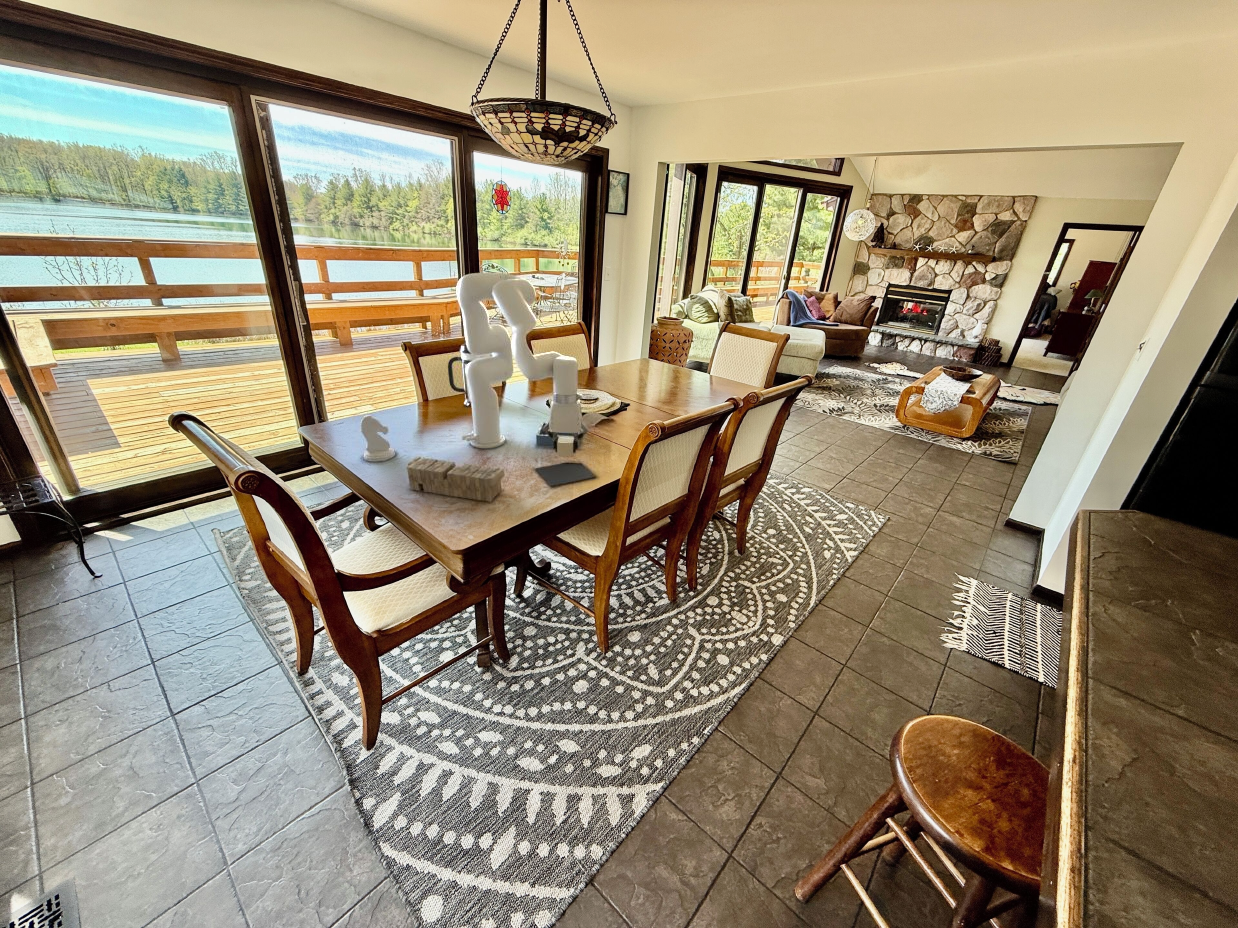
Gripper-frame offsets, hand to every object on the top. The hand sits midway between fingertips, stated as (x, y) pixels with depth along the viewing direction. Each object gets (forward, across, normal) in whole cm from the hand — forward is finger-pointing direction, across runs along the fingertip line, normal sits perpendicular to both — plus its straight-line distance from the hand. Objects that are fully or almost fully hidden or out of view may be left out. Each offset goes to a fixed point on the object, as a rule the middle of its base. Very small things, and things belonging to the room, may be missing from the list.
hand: (565, 450), depth 157 cm
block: (+1, 0, 0) cm, 1 cm away
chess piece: (+8, +66, -7) cm, 67 cm away
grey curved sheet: (+9, -8, -51) cm, 52 cm away
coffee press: (+8, +49, -68) cm, 84 cm away
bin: (+8, +5, -27) cm, 29 cm away
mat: (+9, 0, 0) cm, 9 cm away
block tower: (+9, +32, +15) cm, 36 cm away
